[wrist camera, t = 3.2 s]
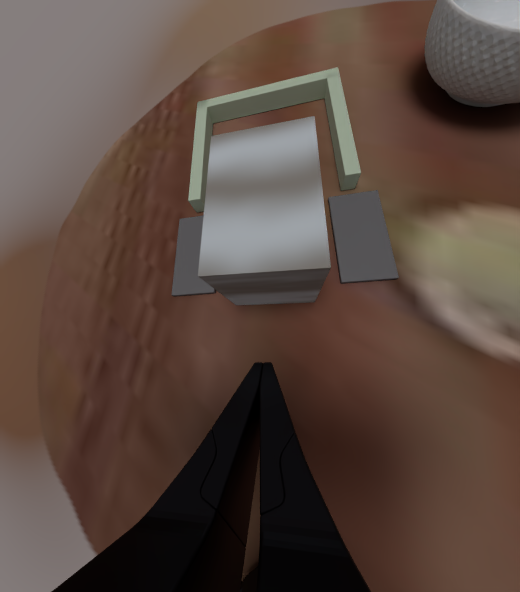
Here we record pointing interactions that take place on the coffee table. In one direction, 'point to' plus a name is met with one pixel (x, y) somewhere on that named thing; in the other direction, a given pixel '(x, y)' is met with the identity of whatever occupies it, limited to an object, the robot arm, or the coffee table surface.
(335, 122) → the green u-shaped guide frame
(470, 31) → the cereal bowl
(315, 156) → the block
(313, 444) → the coffee table surface
